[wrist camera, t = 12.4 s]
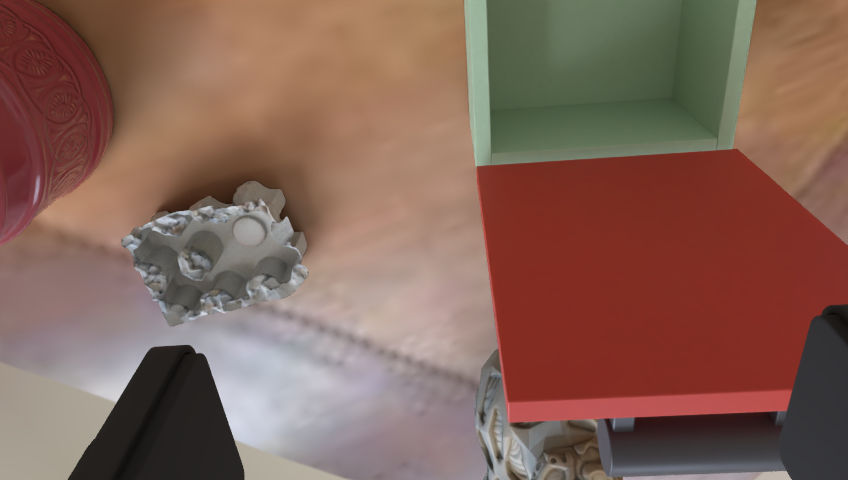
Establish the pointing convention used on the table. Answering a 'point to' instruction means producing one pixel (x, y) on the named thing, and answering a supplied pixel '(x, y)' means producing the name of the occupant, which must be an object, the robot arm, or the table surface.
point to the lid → (656, 303)
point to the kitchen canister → (46, 113)
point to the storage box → (603, 77)
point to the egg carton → (219, 254)
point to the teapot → (532, 439)
